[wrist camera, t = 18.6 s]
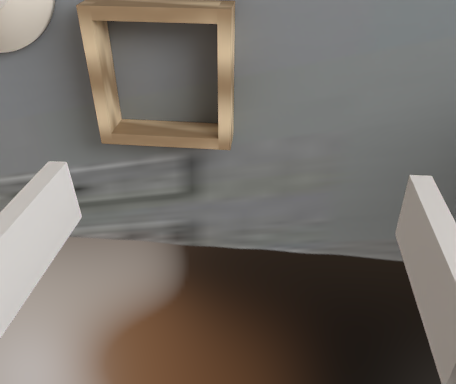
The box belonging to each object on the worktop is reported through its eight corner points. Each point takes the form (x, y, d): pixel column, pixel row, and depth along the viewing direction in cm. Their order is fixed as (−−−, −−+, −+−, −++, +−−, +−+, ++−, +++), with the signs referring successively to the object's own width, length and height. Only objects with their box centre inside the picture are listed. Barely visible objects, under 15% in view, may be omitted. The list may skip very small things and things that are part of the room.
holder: (233, 134, 46) (230, 150, 43) (112, 128, 47) (101, 143, 44) (234, 0, 38) (231, 9, 36) (90, -3, 40) (76, 5, 37)
